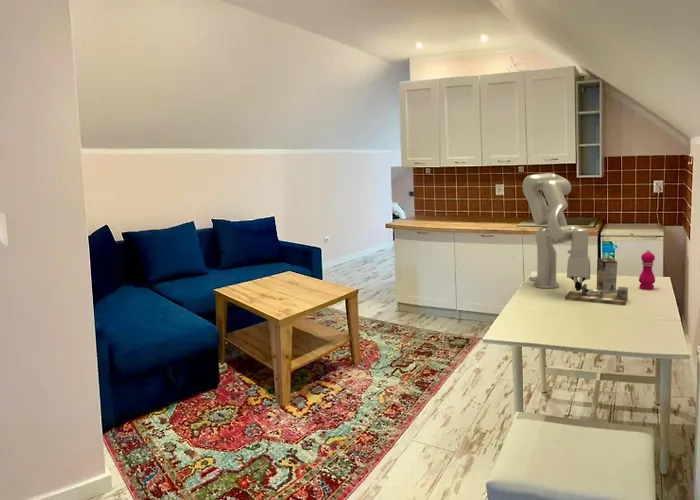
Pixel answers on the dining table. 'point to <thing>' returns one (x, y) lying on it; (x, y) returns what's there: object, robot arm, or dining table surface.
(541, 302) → the dining table surface
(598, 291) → the grey rod with block
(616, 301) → the base
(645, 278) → the pepper mill
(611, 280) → the coffee box
